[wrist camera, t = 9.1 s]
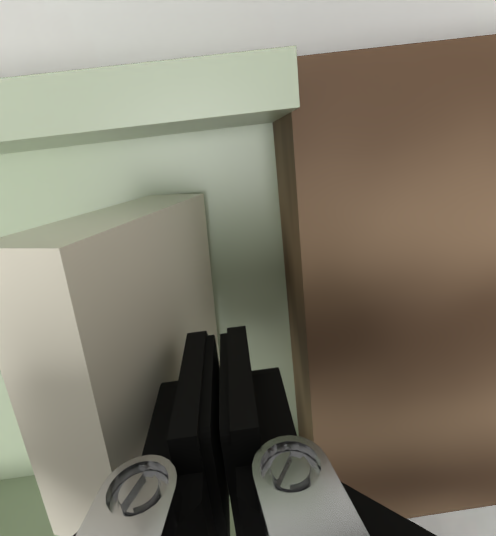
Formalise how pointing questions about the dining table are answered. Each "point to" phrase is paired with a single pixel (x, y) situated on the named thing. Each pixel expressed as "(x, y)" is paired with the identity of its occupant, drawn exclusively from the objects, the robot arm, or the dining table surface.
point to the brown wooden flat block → (395, 268)
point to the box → (155, 192)
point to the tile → (98, 336)
